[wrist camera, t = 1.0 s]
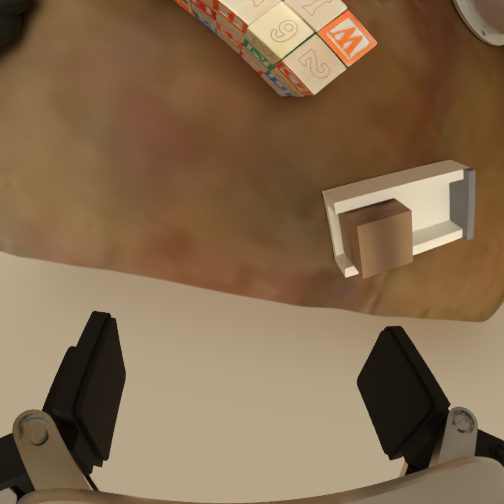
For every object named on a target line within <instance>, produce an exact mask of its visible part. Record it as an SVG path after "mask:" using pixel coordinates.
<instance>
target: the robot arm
mask: <svg viewBox="0 0 504 504" xmlns="http://www.w3.org/2000/svg"><path fill="white" fill-rule="evenodd" d="M452 1H453V3H454V5H455V8H456V10H457V11H458V13H459V15H460V17H461V18H462V20H463V21H464V23H465V24H466V25H467V27H468V28H469V29H470V30H471V31H472V32H473V33H474V34H475V35H476V36H477V37H478V38H479V39H480V40H482V41H483V42H485V43H487V44H490V45H493V46H500V45H504V0H452ZM125 378H126V371H125V367H124V362H123V357H122V351H121V346H120V341H119V335H118V329H117V323H116V319H115V318H111V315H110V313H105V312H97V311H93V312H92V314H91V316H90V318H89V320H88V322H87V324H86V326H85V328H84V331H83V333H82V335H81V337H80V339H79V341H78V344H77V346H76V347H74V346H71V347H69V348H68V350H67V352H66V354H65V356H64V358H63V360H62V363H61V365H60V367H59V369H58V372H57V374H56V376H55V379H54V381H53V384H52V386H51V388H50V391H49V393H48V396H47V398H46V401H45V403H44V406H43V409H42V411H40V410H33V409H32V410H28V411H25V412H23V413H21V414H20V415H19V416H18V417H17V418H16V420H15V422H14V424H13V430H12V431H13V433H11V434H8V435H6V436H4V437H2V438H0V504H504V441H503V440H501V439H499V438H497V437H494V436H492V435H490V434H488V433H486V432H483V431H481V430H479V429H478V424H477V420H476V417H475V416H474V415H473V413H471V412H470V411H469V410H468V409H466V408H463V407H455V408H452V409H451V410H450V411H449V410H448V407H449V406H450V403H449V401H448V399H447V397H446V396H445V394H444V392H443V391H442V389H441V387H440V386H439V384H438V383H437V381H436V379H435V377H434V376H433V374H432V373H431V371H430V369H429V368H428V366H427V365H426V363H425V361H424V360H423V358H422V357H421V355H420V354H419V352H418V350H417V349H416V347H415V346H414V344H413V343H412V341H411V340H410V338H409V337H408V335H407V334H406V332H405V331H404V329H403V328H402V327H401V326H388V327H386V328H385V329H384V330H383V331H382V332H381V333H380V335H379V337H378V339H377V341H376V343H375V345H374V347H373V349H372V351H371V353H370V355H369V357H368V359H367V361H366V363H365V365H364V367H363V368H362V371H361V372H360V374H359V376H358V379H357V386H358V388H359V391H360V393H361V396H362V398H363V401H364V403H365V405H366V408H367V410H368V413H369V415H370V418H371V420H372V423H373V425H374V428H375V431H376V433H377V435H378V438H379V441H380V443H381V446H382V449H383V451H384V453H385V454H387V455H388V456H389V459H390V460H394V459H398V458H401V457H402V456H403V457H404V459H405V462H404V464H403V467H402V470H401V472H400V475H399V477H398V478H396V479H393V480H389V481H386V482H382V483H379V484H375V485H371V486H367V487H363V488H358V489H353V490H349V491H344V492H339V493H334V494H328V495H323V496H316V497H310V498H302V499H293V500H285V501H273V502H259V503H258V502H257V503H193V502H179V501H167V500H157V499H148V498H141V497H134V496H127V495H121V494H114V493H107V492H101V491H100V490H99V488H98V487H97V485H96V484H95V482H94V480H93V479H92V477H91V476H90V474H91V473H92V469H93V465H94V466H98V467H102V464H103V460H105V461H107V460H108V458H109V453H110V448H111V442H112V438H113V432H114V428H115V423H116V418H117V414H118V409H119V404H120V400H121V396H122V392H123V388H124V383H125Z"/></svg>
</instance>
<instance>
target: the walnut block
mask: <svg viewBox="0 0 504 504" xmlns="http://www.w3.org/2000/svg"><path fill="white" fill-rule="evenodd" d="M338 217H339V223H340V229H341V236H342V242H343V249H344V252H345V254H346V255H347V257H348V258H349V259H350V261H351V262H352V264H353V265H354V267H355V268H356V270H357V271H358V273H359V274H360V275H361V277H362V278H363V279H364V278H367V277H370V276H373V275H376V274H379V273H382V272H385V271H388V270H391V269H394V268H397V267H400V266H403V265H406V264H408V263H411V262H413V235H412V210H410V209H409V208H408V207H406V206H405V205H403V204H402V203H401V202H399V201H398V200H396V199H395V198H392V199H388V200H385V201H381V202H378V203H374V204H370V205H367V206H363V207H360V208H356V209H353V210H349V211H346V212H342V213H338Z"/></svg>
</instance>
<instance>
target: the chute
mask: <svg viewBox="0 0 504 504" xmlns="http://www.w3.org/2000/svg"><path fill="white" fill-rule="evenodd" d="M322 192H323V197H324V202H325V207H326V212H327V217H328V223H329V228H330V234H331V239H332V245H333V251H334V257H335V261H336V263H337V264H338V266H339V267H340V269H341V271H342V272H343V274H344V276H345V277H349V276H353V275H356V274H359V273H358V271H357V270H356V268H355V267H354V265H353V264H352V262H351V261H350V259H349V258H348V257H347V255H346V254H345V252H344V249H343V242H342V236H341V229H340V223H339V217H338V213H342V212H346V211H349V210H353V209H356V208H360V207H363V206H367V205H370V204H374V203H378V202H381V201H385V200H388V199H392V198H395V199H396V200H398V201H399V202H401V203H402V204H403V205H405V206H406V207H408V208H409V209H410V210H412V235H413V255H415V254H418V253H421V252H424V251H427V250H429V249H432V248H435V247H438V246H440V245H443V244H446V243H449V242H451V241H454V240H457V239H459V238H464V239H465V240H466V241H468V240H470V239H473V233H474V218H475V170H474V169H472V168H469V167H467V166H465V165H462V164H460V163H458V162H455V161H453V160H446V161H441V162H437V163H432V164H428V165H424V166H419V167H415V168H411V169H407V170H403V171H399V172H394V173H390V174H386V175H382V176H378V177H374V178H370V179H366V180H363V181H359V182H355V183H351V184H347V185H343V186H340V187H336V188H332V189H328V190H325V191H322Z"/></svg>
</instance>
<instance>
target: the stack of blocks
mask: <svg viewBox="0 0 504 504" xmlns="http://www.w3.org/2000/svg"><path fill="white" fill-rule="evenodd" d="M174 1H175V2H176V3H177V4H179V5H180V6H181V7H182V8H184V9H185V10H186V11H188V12H189V13H190V14H191V15H193V16H194V17H196V18H198V19H199V20H200V21H201V22H202V23H204V24H205V25H206V26H207V27H208V28H209V29H211V30H212V31H213V32H214V33H215V34H217V35H218V36H219V37H220V38H221V39H223V40H224V41H225V42H226V43H227V44H228V45H229V46H230V47H232V48H233V49H234V50H235V51H236V52H237V53H238V54H239V56H240V57H241V58H242V59H244V60H245V61H246V62H247V63H248V64H249V65H250V66H251V67H252V68H253V69H254V70H255V71H256V72H257V73H258V74H259V75H260V76H261V77H262V78H263V79H264V80H265V81H266V82H267V83H268V84H269V85H270V86H271V87H272V88H273V89H274V90H275V91H276V93H277V94H278V95H279V96H281V97H282V96H295V97H296V96H297V97H304V96H305V95H315V94H317V93H318V92H319V91H320V90H321V89H322V88H324V87H325V86H326V85H327V84H329V83H330V82H331V81H332V80H333V79H335V78H336V77H337V76H338V75H340V74H341V73H342V72H344V71H345V70H346V67H348V66H350V65H352V64H353V63H354V62H356V61H357V60H358V59H359V58H361V57H362V56H363V55H364V54H366V53H367V52H368V51H369V50H371V49H372V48H373V47H374V46H376V45H377V42H376V41H375V40H374V38H373V37H372V36H371V35H370V34H369V33H368V31H367V30H366V29H365V28H364V27H363V26H362V25H361V23H360V22H359V21H358V20H357V19H356V18H355V17H354V16H353V15H352V13H351V12H350V11H348V10H347V7H346V5H345V4H344V3H343V2H342V1H341V0H174Z"/></svg>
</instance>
